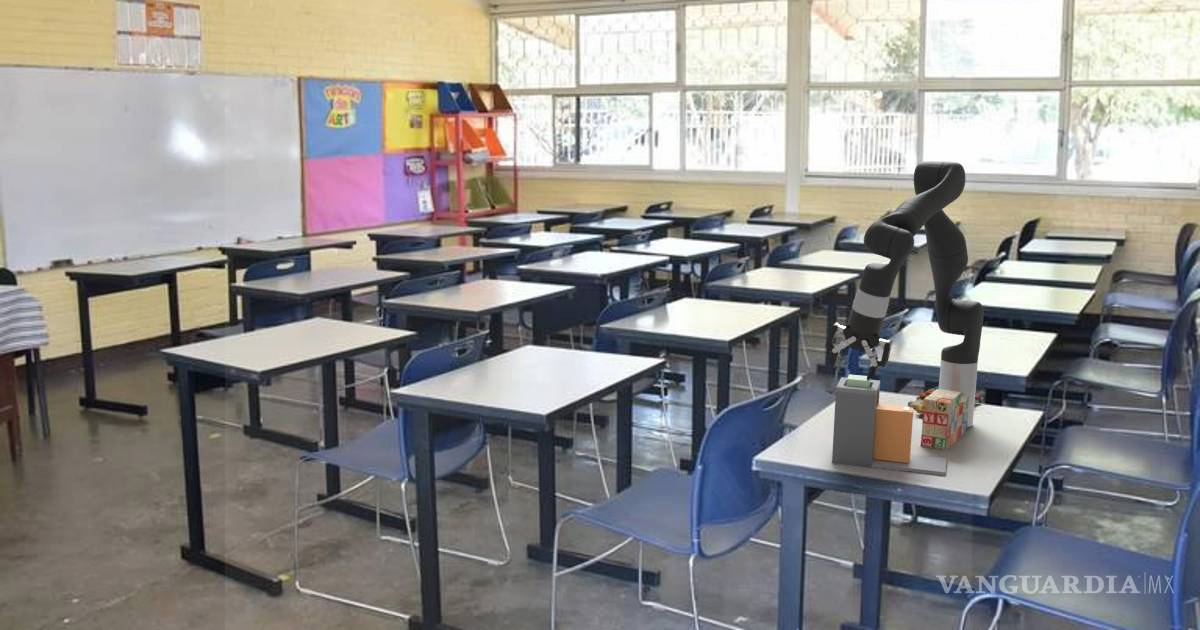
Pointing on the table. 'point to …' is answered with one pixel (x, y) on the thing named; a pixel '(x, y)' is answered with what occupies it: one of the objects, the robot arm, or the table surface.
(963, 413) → the stack of blocks
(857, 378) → the on button
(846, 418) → the grey tower on baseplate
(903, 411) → the orange upright cuboid
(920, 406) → the gear puzzle
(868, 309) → the robot arm
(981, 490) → the table surface
